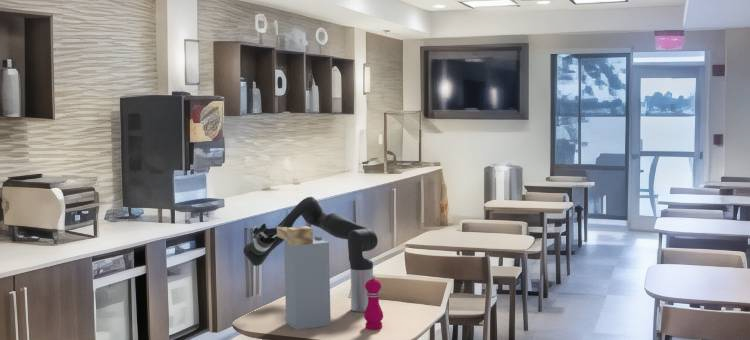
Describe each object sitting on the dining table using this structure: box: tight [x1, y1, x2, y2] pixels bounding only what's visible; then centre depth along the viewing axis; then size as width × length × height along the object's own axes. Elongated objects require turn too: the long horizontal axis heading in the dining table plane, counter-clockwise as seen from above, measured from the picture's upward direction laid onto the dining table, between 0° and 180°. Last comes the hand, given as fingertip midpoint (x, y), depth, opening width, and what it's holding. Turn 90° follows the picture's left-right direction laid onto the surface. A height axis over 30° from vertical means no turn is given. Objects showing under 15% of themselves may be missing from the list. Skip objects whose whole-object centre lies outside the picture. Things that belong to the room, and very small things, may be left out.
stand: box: [283, 235, 332, 331], centre depth 313 cm, size 14×11×33 cm
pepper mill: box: [363, 274, 384, 331], centre depth 307 cm, size 7×7×20 cm
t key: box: [277, 225, 314, 246], centre depth 316 cm, size 8×24×6 cm, turn 26°
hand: (274, 224), depth 333 cm, fingers open, 8 cm apart
